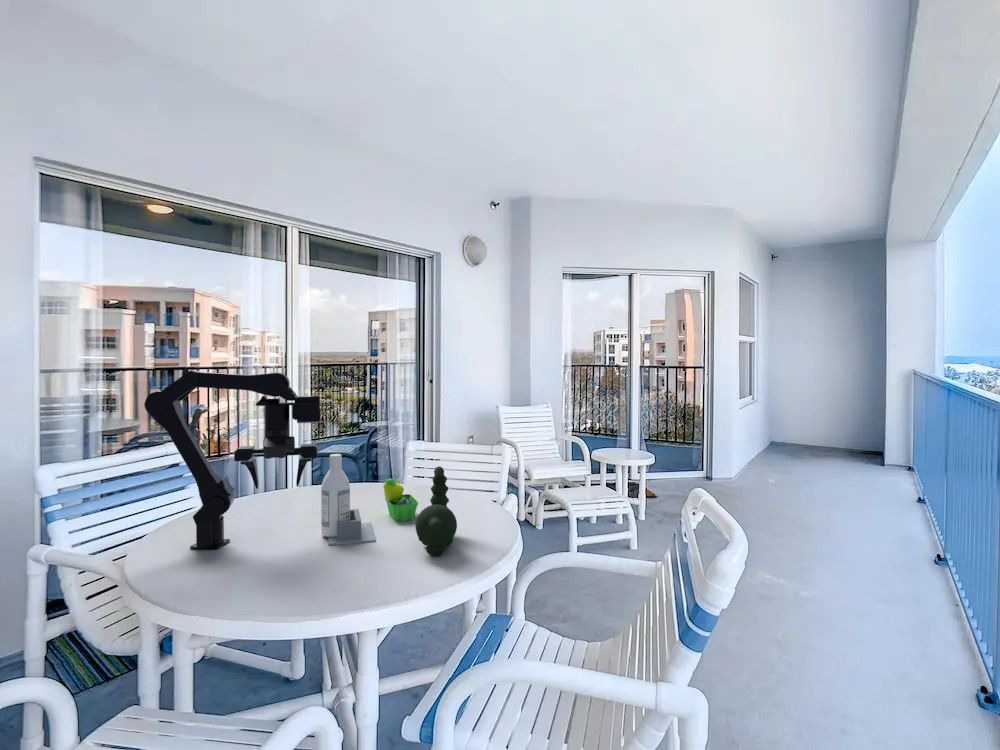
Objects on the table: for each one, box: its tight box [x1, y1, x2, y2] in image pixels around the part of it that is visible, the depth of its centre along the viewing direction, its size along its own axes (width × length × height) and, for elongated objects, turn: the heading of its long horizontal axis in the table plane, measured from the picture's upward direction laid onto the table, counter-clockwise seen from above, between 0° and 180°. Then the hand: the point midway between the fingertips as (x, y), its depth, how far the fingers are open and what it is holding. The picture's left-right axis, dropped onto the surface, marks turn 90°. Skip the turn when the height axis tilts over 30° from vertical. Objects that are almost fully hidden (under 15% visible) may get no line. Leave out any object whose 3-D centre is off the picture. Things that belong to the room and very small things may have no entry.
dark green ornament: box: [415, 466, 458, 557], centre depth 137 cm, size 9×19×25 cm
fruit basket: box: [383, 477, 419, 523], centre depth 163 cm, size 11×9×11 cm
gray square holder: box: [328, 508, 376, 546], centre depth 147 cm, size 11×16×5 cm
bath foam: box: [320, 453, 351, 538], centre depth 145 cm, size 7×7×20 cm
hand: (277, 487), depth 141 cm, fingers open, 9 cm apart
